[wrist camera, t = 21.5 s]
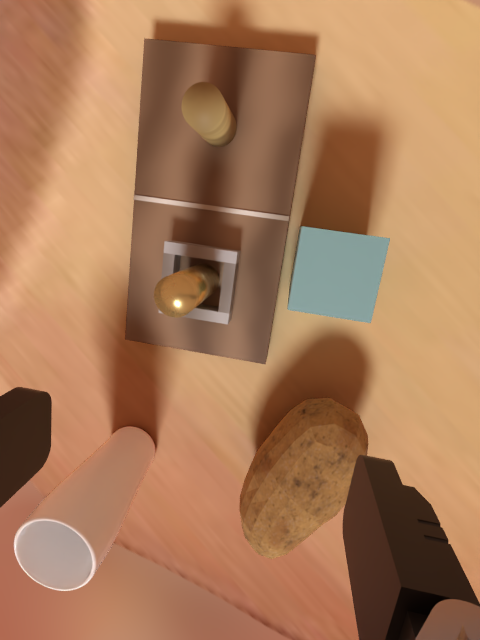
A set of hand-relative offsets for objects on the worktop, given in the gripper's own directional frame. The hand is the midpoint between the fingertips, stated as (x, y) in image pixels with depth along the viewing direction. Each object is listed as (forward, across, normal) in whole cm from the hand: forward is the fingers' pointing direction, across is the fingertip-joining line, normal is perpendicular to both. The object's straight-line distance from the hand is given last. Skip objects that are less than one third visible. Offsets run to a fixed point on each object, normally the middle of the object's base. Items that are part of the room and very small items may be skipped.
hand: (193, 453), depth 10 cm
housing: (+28, -5, -3) cm, 29 cm away
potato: (+28, -6, +16) cm, 33 cm away
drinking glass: (+28, +12, +20) cm, 37 cm away
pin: (+26, +6, 0) cm, 27 cm away
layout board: (+28, +6, -6) cm, 29 cm away
